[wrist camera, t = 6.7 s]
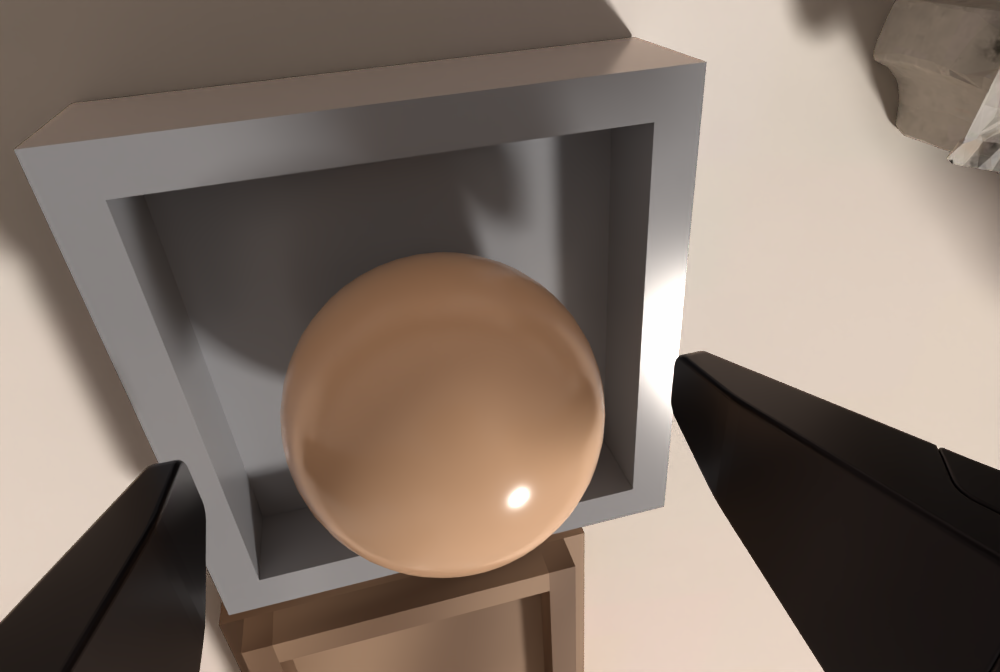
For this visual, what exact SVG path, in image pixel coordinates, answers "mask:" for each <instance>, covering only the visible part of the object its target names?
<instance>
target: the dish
mask: <svg viewBox="0 0 1000 672" xmlns="http://www.w3.org/2000/svg"><path fill="white" fill-rule="evenodd" d="M705 72H706V62H705V61H703V60H700V59H697V58H694V57H691V56H688V55H685V54H682V53H679V52H677V51H674V50H671V49H668V48H665V47H662V46H659V45H656V44H654V43H651V42H648V41H645V40H642V39H639V38H636V37H631V38H622V39H614V40H605V41H597V42H588V43H580V44H571V45H563V46H554V47H546V48H537V49H529V50H520V51H512V52H503V53H495V54H486V55H478V56H469V57H460V58H452V59H443V60H435V61H426V62H418V63H409V64H401V65H392V66H384V67H375V68H367V69H358V70H350V71H341V72H333V73H324V74H316V75H307V76H299V77H290V78H282V79H273V80H265V81H256V82H247V83H239V84H230V85H222V86H213V87H205V88H196V89H188V90H179V91H171V92H162V93H154V94H145V95H137V96H128V97H120V98H111V99H103V100H94V101H86V102H77V103H71V104H70V105H69V106H68V107H66V108H65V109H64V110H63V111H61V112H60V113H59V114H58V115H56V116H55V117H54V118H53V119H51V120H50V121H49V122H48V123H46V124H45V125H44V126H43V127H41V128H40V129H39V130H38V131H36V132H35V133H34V134H33V135H31V136H30V137H29V138H28V139H26V140H25V141H24V142H23V143H21V144H20V145H19V146H18V147H16V148H15V149H14V151H15V154H16V156H17V158H18V160H19V162H20V164H21V167H22V169H23V171H24V173H25V175H26V177H27V180H28V182H29V184H30V186H31V188H32V190H33V192H34V195H35V197H36V199H37V201H38V203H39V205H40V208H41V210H42V212H43V214H44V216H45V218H46V221H47V223H48V225H49V227H50V229H51V231H52V234H53V236H54V238H55V240H56V242H57V244H58V247H59V249H60V251H61V253H62V255H63V257H64V260H65V262H66V264H67V266H68V268H69V270H70V273H71V275H72V277H73V279H74V281H75V283H76V286H77V288H78V290H79V292H80V294H81V296H82V298H83V301H84V303H85V305H86V307H87V309H88V311H89V314H90V316H91V318H92V320H93V322H94V324H95V327H96V329H97V331H98V333H99V335H100V337H101V340H102V342H103V344H104V346H105V348H106V350H107V353H108V355H109V357H110V359H111V361H112V363H113V366H114V368H115V370H116V372H117V374H118V376H119V379H120V381H121V383H122V385H123V387H124V389H125V392H126V394H127V396H128V398H129V400H130V402H131V404H132V407H133V409H134V411H135V413H136V415H137V417H138V420H139V422H140V424H141V426H142V428H143V430H144V433H145V435H146V437H147V439H148V441H149V443H150V446H151V448H152V450H153V452H154V454H155V456H156V459H157V461H158V463H163V462H168V461H172V460H181V461H183V462H184V463H185V464H186V465H187V467H188V469H189V471H190V473H191V476H192V478H193V480H194V483H195V485H196V487H197V490H198V492H199V494H200V497H201V499H202V501H203V504H204V508H205V513H206V567H207V569H208V571H209V573H210V575H211V578H212V580H213V582H214V584H215V586H216V588H217V591H218V593H219V595H220V597H221V599H222V601H223V603H224V606H225V608H226V610H227V612H228V614H229V615H232V614H236V613H240V612H244V611H248V610H252V609H256V608H260V607H264V606H268V605H272V604H276V603H280V602H284V601H288V600H292V599H296V598H300V597H304V596H308V595H312V594H316V593H320V592H324V591H328V590H332V589H336V588H340V587H344V586H348V585H352V584H356V583H360V582H364V581H368V580H372V579H376V578H380V577H384V576H388V575H392V574H396V573H400V572H396V571H393V570H390V569H387V568H384V567H382V566H379V565H377V564H374V563H372V562H370V561H368V560H366V559H365V558H363V557H361V556H359V555H358V554H356V553H355V552H353V551H351V550H350V549H348V548H347V547H345V546H344V545H343V544H342V543H340V542H339V541H338V540H337V539H335V538H334V537H333V536H332V535H331V534H330V533H329V532H328V531H327V530H326V529H325V528H324V526H323V525H322V524H321V523H320V522H319V521H318V520H317V519H316V518H315V517H314V515H313V514H312V512H311V511H310V509H309V508H308V506H307V505H306V503H305V501H304V500H303V498H302V496H301V495H300V493H299V492H298V490H297V488H296V485H295V483H294V480H293V478H292V476H291V473H290V470H289V467H288V464H287V462H286V457H285V453H284V448H283V444H282V435H281V421H280V409H281V400H282V392H283V384H284V379H285V376H286V372H287V369H288V366H289V363H290V360H291V357H292V355H293V352H294V350H295V348H296V346H297V344H298V342H299V339H300V337H301V335H302V334H303V332H304V331H305V329H306V328H307V326H308V325H309V323H310V322H311V320H312V319H313V318H314V316H315V315H316V314H317V313H318V312H319V310H320V309H321V308H322V307H323V306H324V305H325V304H326V302H327V301H328V300H329V299H330V298H331V297H332V296H334V295H335V294H336V293H337V292H338V291H339V290H340V289H342V288H343V287H344V286H345V285H347V284H348V283H350V282H351V281H353V280H354V279H356V278H357V277H359V276H360V275H362V274H364V273H366V272H368V271H370V270H372V269H374V268H376V267H377V266H380V265H383V264H385V263H388V262H391V261H393V260H396V259H400V258H404V257H408V256H412V255H416V254H425V253H434V252H457V253H464V254H472V255H477V256H480V257H484V258H488V259H491V260H495V261H498V262H501V263H503V264H506V265H508V266H510V267H513V268H515V269H517V270H519V271H521V272H522V273H524V274H525V275H527V276H529V277H530V278H532V279H534V280H535V281H537V282H538V283H540V284H541V285H542V286H544V287H545V288H546V289H547V290H548V291H549V292H551V293H552V294H553V295H554V296H555V297H556V298H557V299H558V300H559V301H560V302H561V303H562V304H563V306H564V307H565V308H566V309H567V310H568V311H569V312H570V314H571V315H572V316H573V317H574V319H575V320H576V322H577V323H578V325H579V327H580V328H581V330H582V332H583V333H584V335H585V337H586V338H587V340H588V342H589V344H590V346H591V349H592V351H593V354H594V356H595V359H596V362H597V365H598V368H599V371H600V376H601V380H602V385H603V392H604V401H605V423H604V434H603V443H602V447H601V451H600V455H599V459H598V462H597V465H596V469H595V471H594V474H593V476H592V479H591V481H590V484H589V485H588V487H587V489H586V491H585V493H584V494H583V496H582V498H581V499H580V501H579V503H578V505H577V506H576V508H575V509H574V510H573V512H572V513H571V514H570V516H569V517H568V518H567V519H566V520H565V522H564V523H563V524H562V525H561V526H560V527H559V528H558V529H557V530H556V531H555V532H554V533H553V534H556V533H560V532H564V531H568V530H572V529H576V528H580V527H584V526H588V525H592V524H596V523H600V522H604V521H608V520H612V519H616V518H620V517H624V516H628V515H632V514H636V513H640V512H644V511H648V510H652V509H656V508H660V507H664V501H665V491H666V480H667V470H668V459H669V449H670V438H671V428H672V417H673V411H672V407H671V392H672V381H673V370H674V363H675V360H676V358H677V357H678V355H679V344H680V334H681V323H682V313H683V302H684V292H685V281H686V271H687V260H688V250H689V239H690V229H691V218H692V208H693V198H694V187H695V177H696V166H697V156H698V145H699V135H700V124H701V114H702V103H703V93H704V82H705Z"/></svg>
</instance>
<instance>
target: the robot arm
mask: <svg viewBox="0 0 1000 672" xmlns="http://www.w3.org/2000/svg"><path fill="white" fill-rule="evenodd" d="M671 407H672V411H673V414H674V416H675V418H676V421H677V423H678V425H679V427H680V429H681V431H682V433H683V435H684V437H685V439H686V441H687V443H688V445H689V447H690V449H691V451H692V453H693V455H694V458H695V460H696V462H697V464H698V466H699V468H700V470H701V472H702V474H703V476H704V478H705V480H706V482H707V484H708V486H709V488H710V490H711V492H712V494H713V496H714V498H715V499H716V501H717V503H718V504H719V506H720V508H721V509H722V511H723V513H724V514H725V516H726V517H727V519H728V521H729V522H730V524H731V525H732V527H733V528H734V530H735V532H736V533H737V535H738V536H739V538H740V539H741V541H742V543H743V544H744V546H745V547H746V549H747V550H748V552H749V554H750V555H751V557H752V558H753V560H754V561H755V563H756V565H757V566H758V568H759V569H760V571H761V573H762V574H763V576H764V577H765V579H766V580H767V582H768V584H769V585H770V587H771V588H772V590H773V591H774V593H775V595H776V596H777V598H778V599H779V601H780V602H781V604H782V606H783V607H784V609H785V610H786V612H787V613H788V615H789V617H790V618H791V620H792V621H793V623H794V624H795V626H796V628H797V629H798V631H799V632H800V634H801V635H802V637H803V639H804V640H805V642H806V643H807V645H808V646H809V648H810V650H811V651H812V653H813V654H814V656H815V657H816V659H817V661H818V662H819V664H820V665H821V667H822V668H823V670H824V672H1000V470H997V469H995V468H992V467H990V466H987V465H984V464H982V463H979V462H977V461H974V460H972V459H969V458H967V457H964V456H962V455H959V454H957V453H955V452H952V451H950V450H947V449H945V448H939V449H938V448H937V446H936V445H934V444H932V443H930V442H927V441H925V440H922V439H920V438H917V437H915V436H912V435H910V434H907V433H905V432H903V431H900V430H898V429H895V428H893V427H890V426H888V425H885V424H883V423H880V422H878V421H875V420H873V419H870V418H868V417H866V416H863V415H861V414H858V413H856V412H853V411H851V410H848V409H846V408H843V407H841V406H838V405H836V404H834V403H831V402H829V401H826V400H824V399H821V398H819V397H816V396H814V395H811V394H809V393H806V392H804V391H801V390H799V389H797V388H794V387H792V386H789V385H787V384H784V383H782V382H779V381H777V380H774V379H772V378H769V377H767V376H765V375H762V374H760V373H757V372H755V371H752V370H750V369H747V368H745V367H742V366H740V365H737V364H735V363H732V362H730V361H728V360H725V359H723V358H720V357H718V356H715V355H713V354H710V353H708V352H705V351H698V352H693V353H688V354H684V355H680V356H679V357H677V358H676V360H675V363H674V370H673V381H672V392H671ZM205 607H206V513H205V508H204V504H203V501H202V499H201V497H200V494H199V492H198V490H197V487H196V485H195V483H194V480H193V478H192V476H191V473H190V471H189V469H188V467H187V465H186V464H185V463H184V462H183V461H181V460H172V461H168V462H163V463H158V464H153V465H150V466H148V467H147V468H146V469H145V470H144V471H143V472H142V473H141V474H140V475H139V476H138V477H137V478H136V479H135V480H134V481H133V482H132V483H131V484H130V485H129V487H128V488H127V489H126V490H125V491H124V492H123V493H122V494H121V495H120V496H119V497H118V498H117V499H116V500H115V501H114V502H113V503H112V505H111V506H110V507H109V508H108V509H107V510H106V511H105V512H104V513H103V514H102V515H101V516H100V517H99V518H98V519H97V520H96V522H95V523H94V524H93V525H92V526H91V527H90V528H89V529H88V530H87V531H86V532H85V533H84V534H83V535H82V536H81V537H80V538H79V540H78V541H77V542H76V543H75V544H74V545H73V546H72V547H71V548H70V549H69V550H68V551H67V552H66V553H65V554H64V555H63V556H62V558H61V559H60V560H59V561H58V562H57V563H56V564H55V565H54V566H53V567H52V568H51V569H50V570H49V571H48V572H47V573H46V575H45V576H44V577H43V578H42V579H41V580H40V581H39V582H38V583H37V584H36V585H35V586H34V587H33V588H32V589H31V590H30V591H29V593H28V594H27V595H26V596H25V597H24V598H23V599H22V600H21V601H20V602H19V603H18V604H17V605H16V606H15V607H14V608H13V609H12V611H11V612H10V613H9V614H8V615H7V616H6V617H5V618H4V619H3V620H2V621H1V622H0V672H199V671H200V663H201V656H202V648H203V640H204V630H205Z"/></svg>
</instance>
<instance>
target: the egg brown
mask: <svg viewBox="0 0 1000 672" xmlns="http://www.w3.org/2000/svg"><path fill="white" fill-rule="evenodd" d="M280 421H281V435H282V444H283V448H284V453H285V457H286V462H287V464H288V467H289V470H290V473H291V476H292V478H293V480H294V483H295V485H296V488H297V490H298V492H299V493H300V495H301V496H302V498H303V500H304V501H305V503H306V505H307V506H308V508H309V509H310V511H311V512H312V514H313V515H314V517H315V518H316V519H317V520H318V521H319V522H320V523H321V524H322V525H323V526H324V528H325V529H326V530H327V531H328V532H329V533H330V534H331V535H332V536H333V537H334V538H335V539H337V540H338V541H339V542H340V543H342V544H343V545H344V546H345V547H347V548H348V549H350V550H351V551H353V552H355V553H356V554H358V555H359V556H361V557H363V558H365V559H366V560H368V561H370V562H372V563H374V564H377V565H379V566H382V567H384V568H387V569H390V570H393V571H396V572H400V573H404V574H407V575H413V576H419V577H432V578H452V577H463V576H470V575H475V574H479V573H484V572H487V571H490V570H493V569H496V568H499V567H501V566H504V565H506V564H509V563H511V562H513V561H515V560H517V559H518V558H520V557H522V556H524V555H525V554H527V553H529V552H530V551H532V550H533V549H535V548H536V547H537V546H539V545H540V544H541V543H543V542H544V541H545V540H546V539H547V538H548V537H549V536H550V535H552V534H553V533H554V532H555V531H556V530H557V529H558V528H559V527H560V526H561V525H562V524H563V523H564V522H565V520H566V519H567V518H568V517H569V516H570V514H571V513H572V512H573V510H574V509H575V508H576V506H577V505H578V503H579V501H580V499H581V498H582V496H583V494H584V493H585V491H586V489H587V487H588V485H589V484H590V481H591V479H592V476H593V474H594V471H595V469H596V465H597V462H598V459H599V455H600V451H601V447H602V443H603V434H604V423H605V401H604V392H603V385H602V380H601V376H600V371H599V368H598V365H597V362H596V359H595V356H594V354H593V351H592V349H591V346H590V344H589V342H588V340H587V338H586V337H585V335H584V333H583V332H582V330H581V328H580V327H579V325H578V323H577V322H576V320H575V319H574V317H573V316H572V315H571V314H570V312H569V311H568V310H567V309H566V308H565V307H564V306H563V304H562V303H561V302H560V301H559V300H558V299H557V298H556V297H555V296H554V295H553V294H552V293H551V292H549V291H548V290H547V289H546V288H545V287H544V286H542V285H541V284H540V283H538V282H537V281H535V280H534V279H532V278H530V277H529V276H527V275H525V274H524V273H522V272H521V271H519V270H517V269H515V268H513V267H510V266H508V265H506V264H503V263H501V262H498V261H495V260H491V259H488V258H484V257H480V256H477V255H472V254H464V253H457V252H434V253H425V254H416V255H412V256H408V257H404V258H400V259H396V260H393V261H391V262H388V263H385V264H383V265H380V266H377V267H376V268H374V269H372V270H370V271H368V272H366V273H364V274H362V275H360V276H359V277H357V278H356V279H354V280H353V281H351V282H350V283H348V284H347V285H345V286H344V287H343V288H342V289H340V290H339V291H338V292H337V293H336V294H335V295H334V296H332V297H331V298H330V299H329V300H328V301H327V302H326V304H325V305H324V306H323V307H322V308H321V309H320V310H319V312H318V313H317V314H316V315H315V316H314V318H313V319H312V320H311V322H310V323H309V325H308V326H307V328H306V329H305V331H304V332H303V334H302V335H301V337H300V339H299V342H298V344H297V346H296V348H295V350H294V352H293V355H292V357H291V360H290V363H289V366H288V369H287V372H286V376H285V379H284V384H283V392H282V400H281V409H280Z"/></svg>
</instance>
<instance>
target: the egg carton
mask: <svg viewBox="0 0 1000 672" xmlns="http://www.w3.org/2000/svg"><path fill="white" fill-rule="evenodd" d="M873 57H874V60H875V61H877V62H878V63H880V64H883V65H884V66H886V67H888V68H889V70H890V71H891V72H892V74H893V75H894V77H895V78H896V81H897V84H898V91H899V106H898V112H897V118H896V122H895V123H896V126H897V128H898V129H899V130H900V132H901V133H902V134H903V135H904V136H907V137H910V138H913V139H916V140H919V141H922V142H924V143H927V144H930V145H933V146H936V147H938V148H941V149H944V150H947V151H951V153H950V154H949V156H948V157H947V159H948V160H949V161H950V162H951V163H952V164H955V165H959V166H965V167H971V168H977V169H983V170H988V171H995V172H997V173H999V174H1000V0H896V1H895V3H894V5H893V6H892V8H891V10H890V12H889V14H888V16H887V18H886V20H885V23H884V25H883V28H882V30H881V33H880V35H879V37H878V40H877V43H876V45H875V49H874V52H873Z"/></svg>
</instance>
